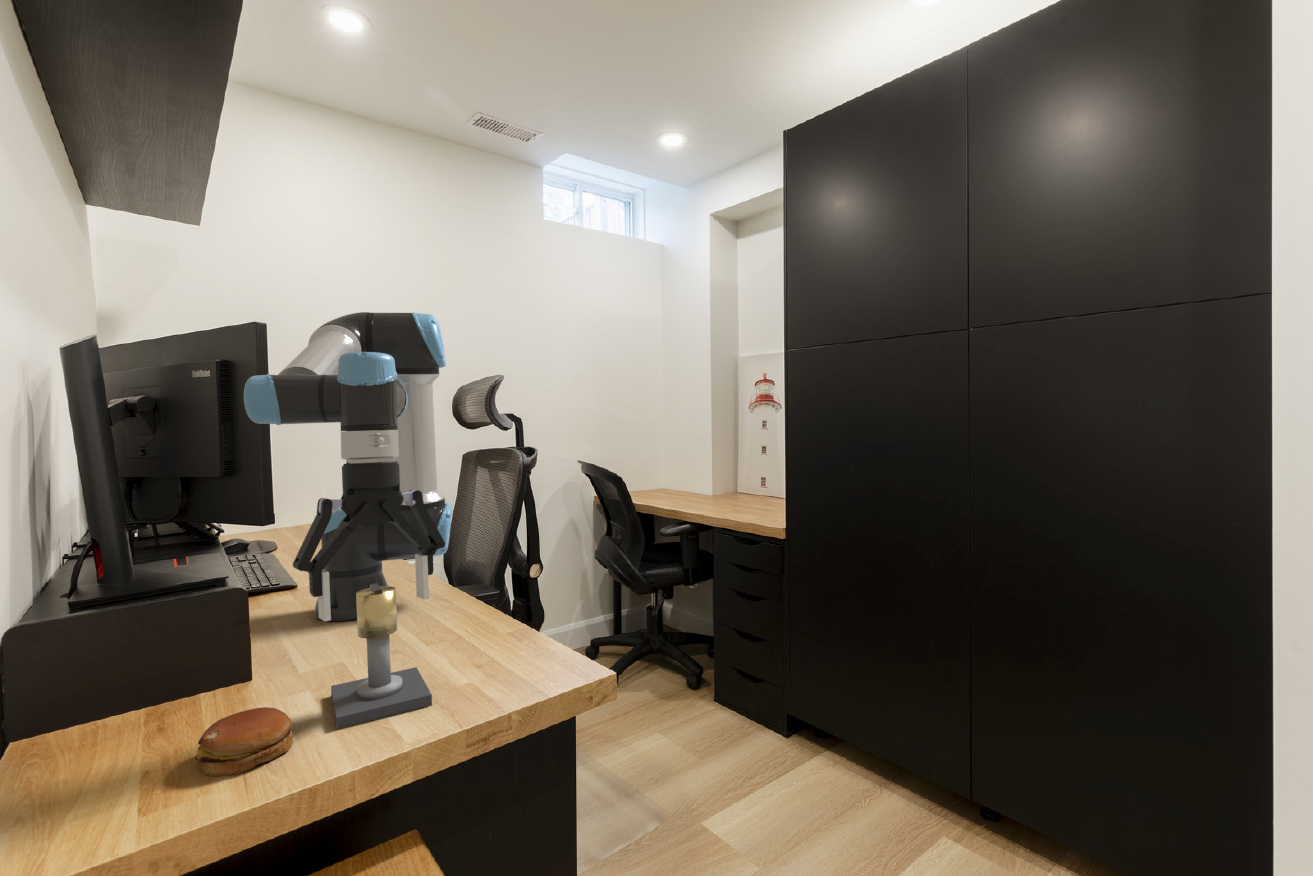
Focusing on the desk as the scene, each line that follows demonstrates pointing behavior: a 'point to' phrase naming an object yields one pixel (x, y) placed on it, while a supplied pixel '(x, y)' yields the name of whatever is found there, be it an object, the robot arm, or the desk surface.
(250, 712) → the burger
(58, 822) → the desk surface
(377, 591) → the cap
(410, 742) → the desk surface
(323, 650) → the desk surface
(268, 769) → the desk surface
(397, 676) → the post block
